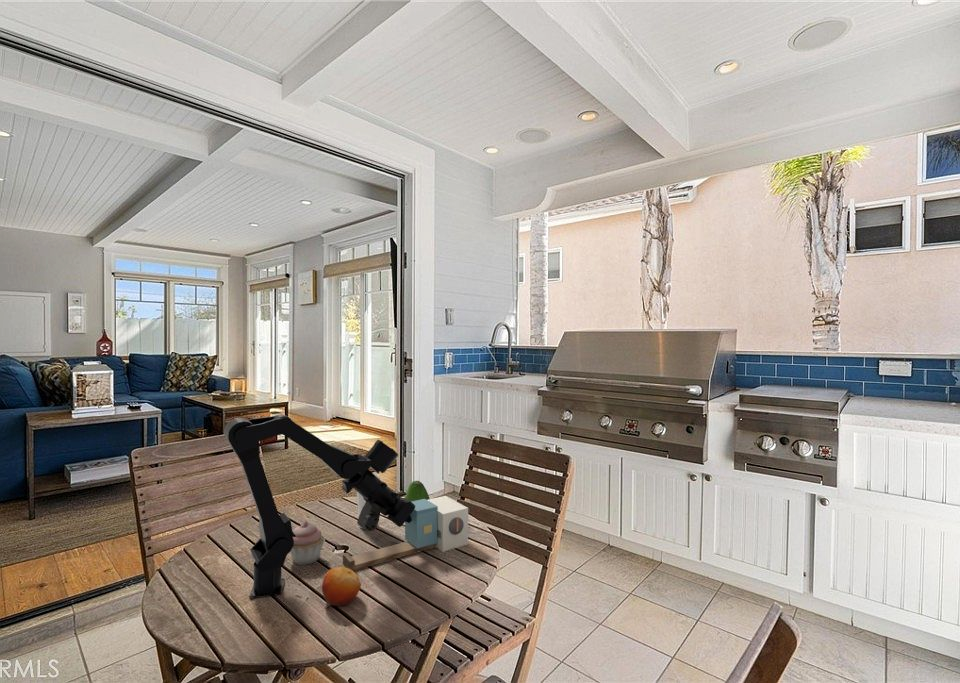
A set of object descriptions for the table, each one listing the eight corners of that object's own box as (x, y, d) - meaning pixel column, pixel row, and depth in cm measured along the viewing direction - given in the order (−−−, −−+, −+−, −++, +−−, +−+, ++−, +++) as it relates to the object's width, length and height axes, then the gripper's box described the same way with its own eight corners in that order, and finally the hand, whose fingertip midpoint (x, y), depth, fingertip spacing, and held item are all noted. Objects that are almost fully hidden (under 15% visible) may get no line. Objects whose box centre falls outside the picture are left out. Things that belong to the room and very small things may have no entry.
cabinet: (444, 553, 126) (444, 515, 125) (421, 536, 136) (421, 501, 136) (469, 545, 130) (470, 509, 130) (445, 529, 141) (445, 495, 141)
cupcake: (277, 563, 119) (277, 523, 119) (305, 548, 128) (306, 511, 127) (305, 571, 115) (306, 530, 115) (333, 555, 124) (333, 517, 124)
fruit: (311, 590, 104) (331, 556, 106) (343, 602, 107) (363, 569, 108) (312, 610, 97) (334, 573, 98) (347, 623, 99) (367, 586, 100)
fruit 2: (432, 514, 152) (432, 477, 152) (426, 524, 144) (427, 485, 144) (407, 513, 153) (407, 476, 153) (401, 523, 145) (401, 484, 145)
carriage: (417, 549, 124) (417, 511, 124) (404, 539, 130) (404, 503, 130) (437, 543, 128) (438, 506, 128) (424, 533, 134) (424, 498, 134)
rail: (349, 571, 115) (349, 561, 115) (342, 563, 119) (342, 553, 119) (436, 546, 129) (436, 538, 129) (427, 540, 133) (427, 531, 133)
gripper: (336, 503, 125) (375, 535, 132) (363, 527, 110) (406, 561, 116) (365, 469, 130) (401, 501, 136) (394, 486, 114) (434, 522, 121)
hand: (409, 521), depth 127 cm, fingers closed, pressing on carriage
